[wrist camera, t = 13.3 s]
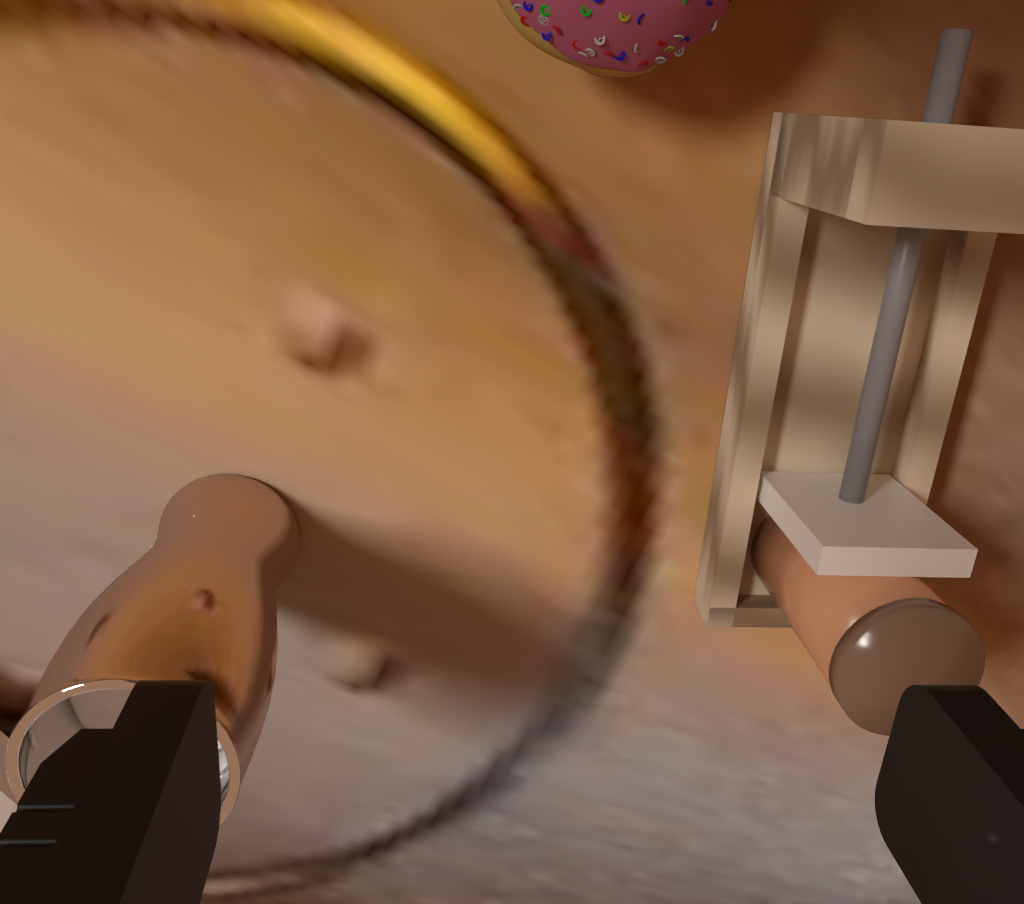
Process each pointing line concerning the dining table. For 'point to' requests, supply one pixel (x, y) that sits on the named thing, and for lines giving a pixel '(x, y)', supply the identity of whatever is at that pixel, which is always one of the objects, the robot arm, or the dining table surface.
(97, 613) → the beer glass
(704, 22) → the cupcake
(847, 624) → the jar
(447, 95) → the dining table surface
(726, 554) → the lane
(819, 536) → the pusher
